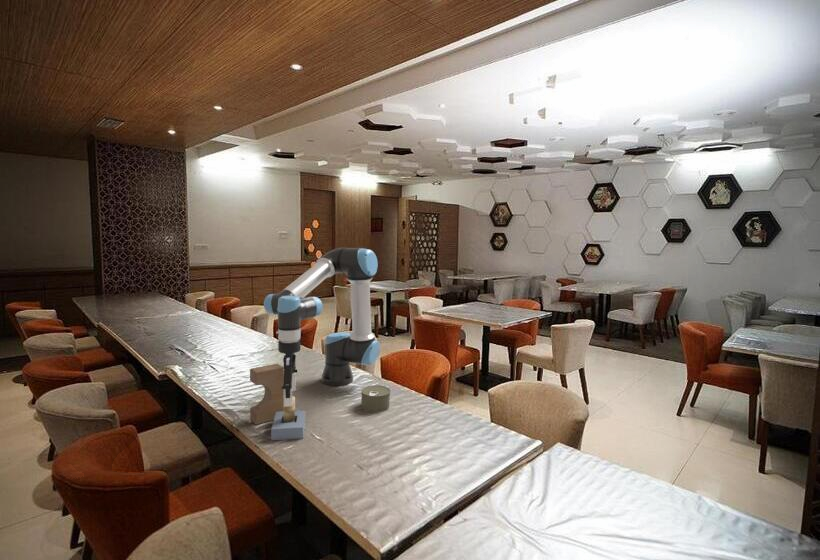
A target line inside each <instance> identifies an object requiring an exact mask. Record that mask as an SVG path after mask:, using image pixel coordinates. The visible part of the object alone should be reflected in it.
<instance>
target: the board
mask: <svg viewBox="0 0 820 560" xmlns="http://www.w3.org/2000/svg"><path fill="white" fill-rule="evenodd" d="M272 421H273V423H272V425H271V428H270V430H271V431H270V432H271V433H270V434H271V435H270V436H271V437H270V439H271V441H282V440H283V441H285V440H300V439H301V440H302V439H304V434H305V425H306V410H304V409H303V410H295V420H294V422H291V423H284V420H283V411H280V412H276V415H275V418H274V420H272Z"/></svg>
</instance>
